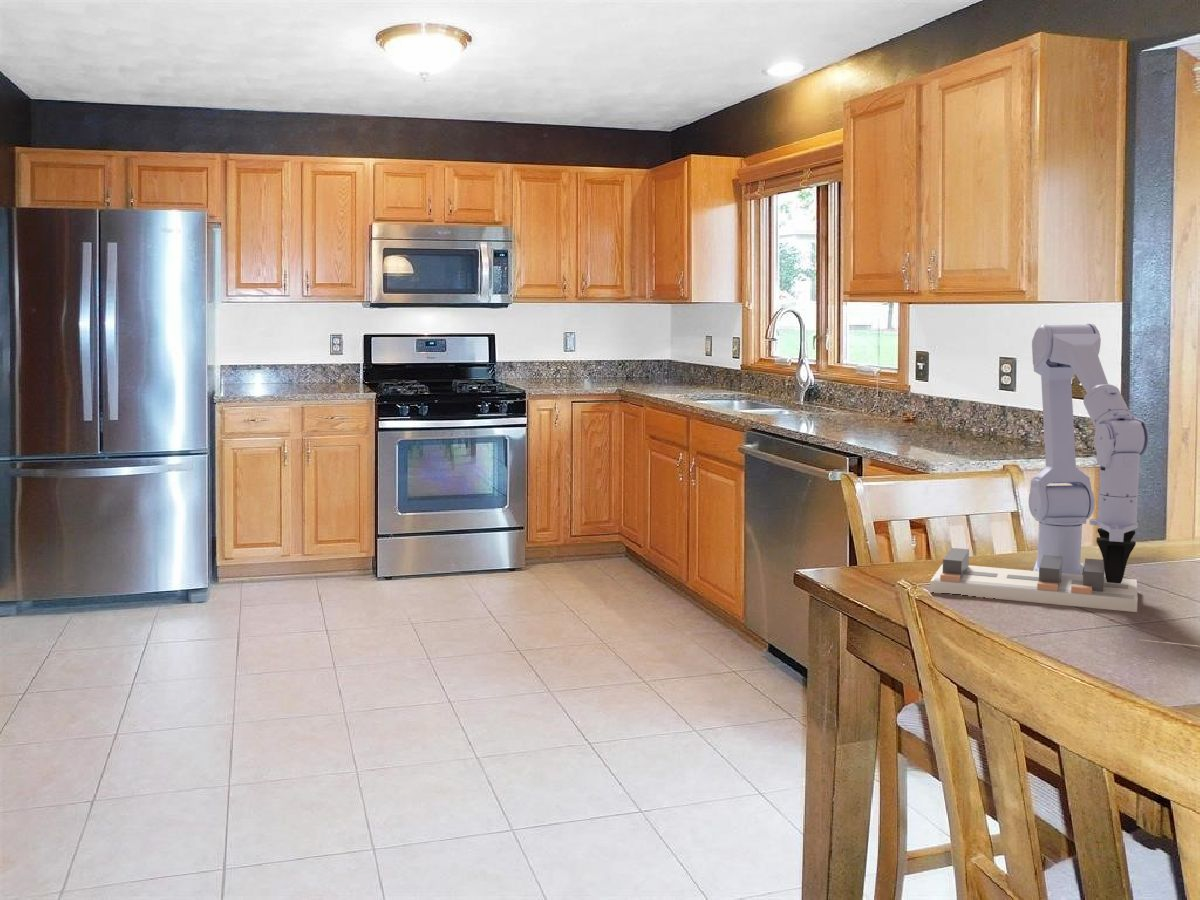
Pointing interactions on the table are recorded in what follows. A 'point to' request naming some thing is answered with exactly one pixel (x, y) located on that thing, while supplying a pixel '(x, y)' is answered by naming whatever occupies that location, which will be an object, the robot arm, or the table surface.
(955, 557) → the slider
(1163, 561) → the table surface
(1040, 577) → the slider middle
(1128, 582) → the switch panel
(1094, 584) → the slider
